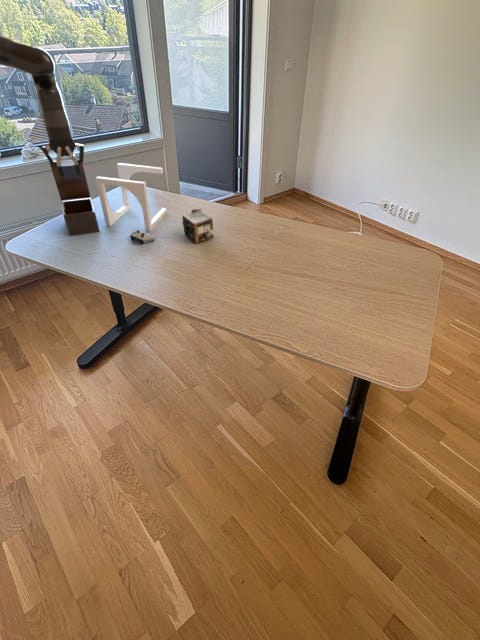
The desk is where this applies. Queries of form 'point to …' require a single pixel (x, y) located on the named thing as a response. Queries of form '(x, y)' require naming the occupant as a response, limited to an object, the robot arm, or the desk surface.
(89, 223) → the storage box
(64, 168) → the block
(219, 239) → the desk surface
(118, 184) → the white arched cube frame
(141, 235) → the game controller
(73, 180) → the lid
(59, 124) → the robot arm
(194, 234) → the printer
